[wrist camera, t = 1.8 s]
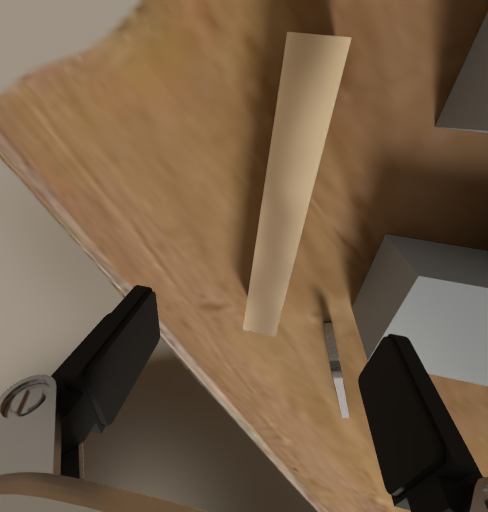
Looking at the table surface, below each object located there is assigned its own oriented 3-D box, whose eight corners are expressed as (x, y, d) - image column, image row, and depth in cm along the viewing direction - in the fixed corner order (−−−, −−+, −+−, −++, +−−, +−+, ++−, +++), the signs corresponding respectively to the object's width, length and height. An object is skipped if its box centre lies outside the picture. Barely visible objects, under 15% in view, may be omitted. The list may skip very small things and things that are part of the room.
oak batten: (337, 57, 17) (351, 37, 13) (277, 304, 30) (275, 336, 25) (288, 52, 18) (287, 31, 13) (249, 299, 30) (242, 329, 26)
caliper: (322, 319, 30) (328, 364, 24) (331, 318, 29) (340, 363, 24) (341, 412, 39) (349, 460, 33) (348, 413, 38) (357, 461, 33)
